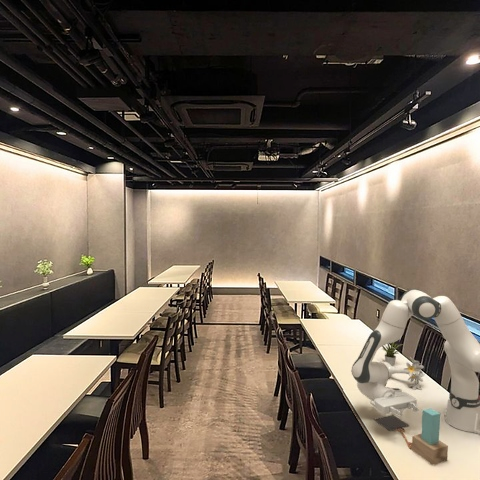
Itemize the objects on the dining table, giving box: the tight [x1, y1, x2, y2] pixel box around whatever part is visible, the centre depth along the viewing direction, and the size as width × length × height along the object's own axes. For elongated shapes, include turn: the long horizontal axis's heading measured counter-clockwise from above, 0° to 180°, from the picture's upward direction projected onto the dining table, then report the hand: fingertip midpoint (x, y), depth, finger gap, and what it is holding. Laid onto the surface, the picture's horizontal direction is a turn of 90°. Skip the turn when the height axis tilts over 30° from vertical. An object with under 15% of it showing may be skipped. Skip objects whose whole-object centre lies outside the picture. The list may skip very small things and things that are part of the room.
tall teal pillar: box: [420, 408, 441, 445], centre depth 149 cm, size 4×4×12 cm
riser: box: [411, 433, 449, 466], centre depth 149 cm, size 8×10×6 cm
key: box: [396, 427, 412, 450], centre depth 160 cm, size 6×1×15 cm
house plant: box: [382, 342, 404, 367], centre depth 246 cm, size 14×14×16 cm
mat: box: [373, 414, 410, 432], centre depth 173 cm, size 12×10×1 cm
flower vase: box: [382, 356, 425, 391], centre depth 219 cm, size 13×18×25 cm
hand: (409, 412), depth 159 cm, fingers open, 8 cm apart
